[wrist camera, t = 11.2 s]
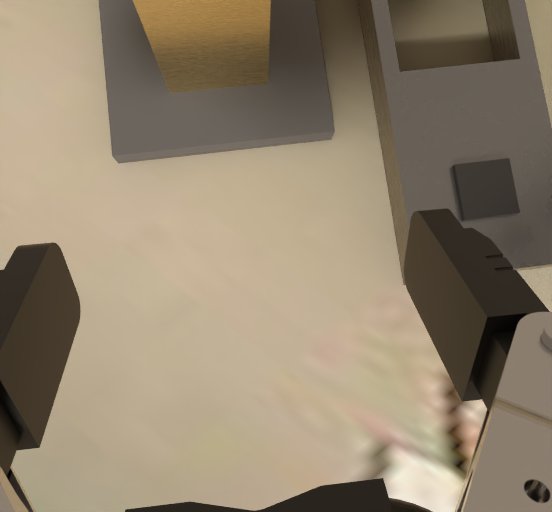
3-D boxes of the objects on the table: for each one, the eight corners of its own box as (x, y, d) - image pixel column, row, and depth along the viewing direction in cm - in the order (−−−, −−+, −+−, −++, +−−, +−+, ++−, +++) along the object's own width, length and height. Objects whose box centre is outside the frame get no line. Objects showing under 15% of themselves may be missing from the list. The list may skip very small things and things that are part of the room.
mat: (101, -33, 24) (94, -48, 23) (303, -52, 24) (304, -67, 23) (118, 163, 23) (112, 155, 22) (331, 139, 23) (334, 131, 22)
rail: (329, -173, 25) (336, -221, 23) (460, -183, 26) (479, -232, 23) (403, 284, 22) (420, 280, 20) (551, 266, 23) (584, 259, 20)
